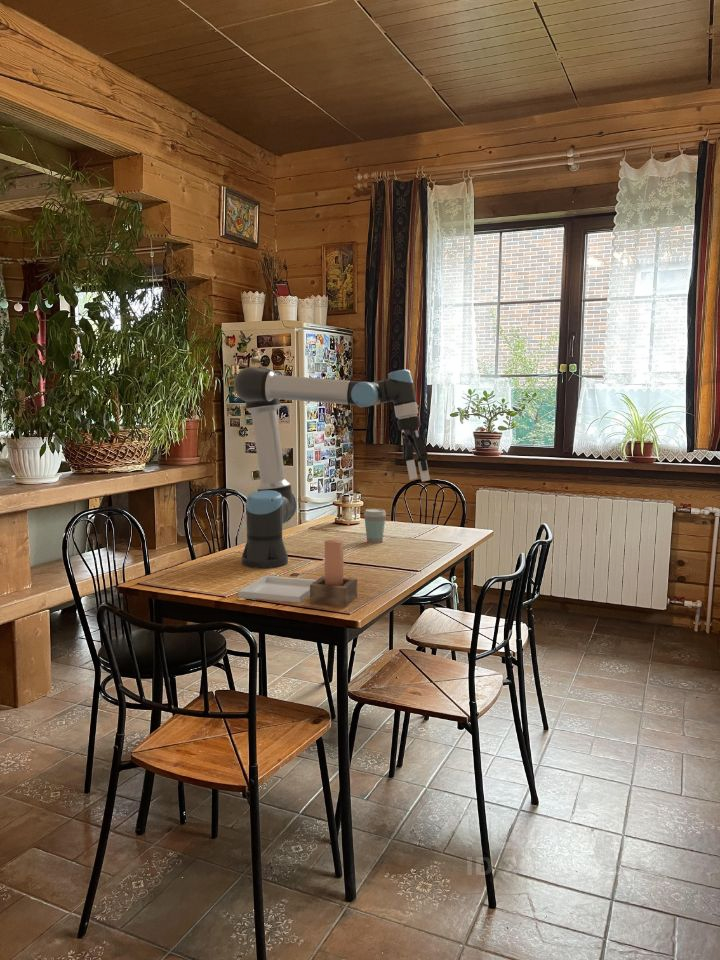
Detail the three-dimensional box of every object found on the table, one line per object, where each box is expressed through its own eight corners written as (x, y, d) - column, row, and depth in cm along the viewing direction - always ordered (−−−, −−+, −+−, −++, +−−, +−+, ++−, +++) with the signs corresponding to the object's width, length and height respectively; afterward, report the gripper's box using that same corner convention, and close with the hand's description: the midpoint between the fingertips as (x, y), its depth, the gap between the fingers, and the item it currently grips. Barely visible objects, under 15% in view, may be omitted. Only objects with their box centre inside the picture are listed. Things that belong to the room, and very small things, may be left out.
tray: (237, 600, 201) (237, 591, 201) (265, 583, 219) (265, 575, 218) (299, 606, 196) (299, 596, 196) (322, 588, 213) (322, 580, 213)
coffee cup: (386, 543, 276) (386, 512, 274) (363, 543, 276) (363, 512, 274) (385, 539, 284) (386, 508, 283) (363, 539, 284) (363, 508, 283)
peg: (322, 601, 197) (321, 542, 195) (328, 596, 202) (328, 539, 200) (339, 603, 195) (339, 544, 193) (345, 598, 200) (345, 540, 198)
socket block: (309, 607, 195) (309, 585, 195) (322, 597, 205) (322, 575, 204) (345, 610, 192) (345, 588, 192) (357, 600, 202) (357, 578, 201)
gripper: (430, 412, 232) (442, 479, 234) (407, 416, 256) (419, 476, 258) (407, 417, 230) (420, 483, 232) (387, 420, 255) (398, 480, 256)
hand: (419, 480), depth 245 cm, fingers open, 13 cm apart
